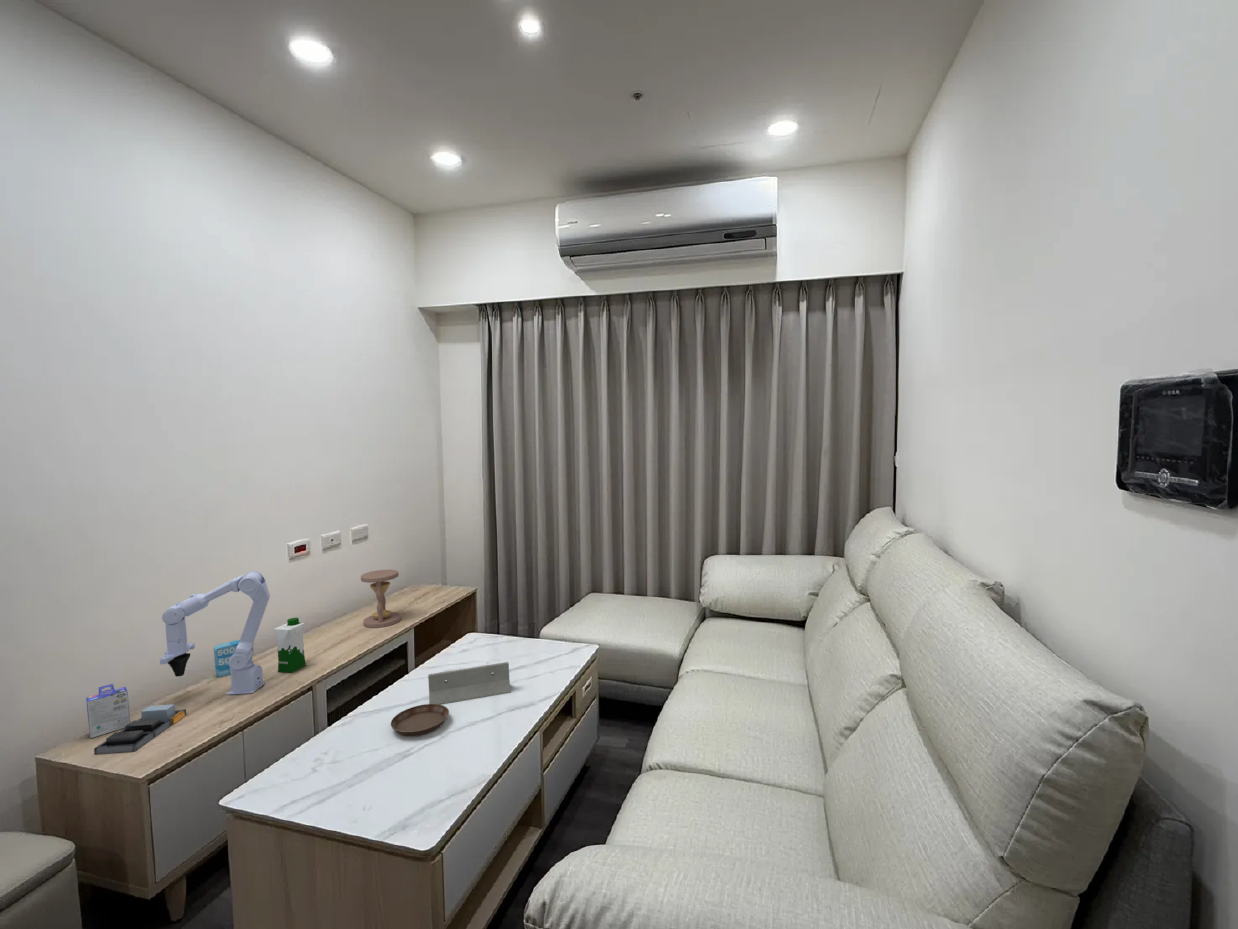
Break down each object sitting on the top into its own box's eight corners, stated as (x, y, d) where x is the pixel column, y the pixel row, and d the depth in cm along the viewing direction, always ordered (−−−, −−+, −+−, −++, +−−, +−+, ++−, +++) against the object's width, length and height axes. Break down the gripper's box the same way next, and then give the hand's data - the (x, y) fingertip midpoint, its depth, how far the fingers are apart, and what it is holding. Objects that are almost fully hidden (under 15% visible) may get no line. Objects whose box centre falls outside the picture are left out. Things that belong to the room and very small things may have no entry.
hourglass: (370, 617, 285) (367, 570, 283) (405, 615, 287) (402, 568, 285) (358, 629, 267) (355, 579, 266) (395, 626, 269) (392, 577, 268)
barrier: (508, 684, 202) (507, 658, 202) (510, 693, 196) (509, 666, 195) (430, 698, 194) (428, 670, 194) (429, 707, 187) (427, 679, 187)
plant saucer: (392, 718, 180) (391, 709, 180) (447, 707, 187) (447, 698, 187) (390, 746, 164) (389, 736, 164) (451, 733, 170) (450, 724, 170)
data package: (216, 678, 216) (214, 648, 216) (215, 674, 220) (213, 645, 219) (252, 668, 224) (250, 640, 223) (251, 665, 227) (249, 637, 227)
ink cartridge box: (129, 720, 184) (125, 679, 184) (131, 726, 181) (127, 683, 180) (88, 733, 177) (84, 689, 176) (90, 739, 173) (86, 695, 173)
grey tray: (187, 714, 187) (187, 704, 187) (136, 751, 166) (135, 740, 165) (150, 716, 186) (149, 707, 186) (94, 754, 165) (93, 743, 164)
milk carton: (309, 665, 226) (306, 617, 225) (291, 674, 217) (288, 625, 216) (292, 663, 228) (288, 616, 227) (273, 672, 219) (270, 624, 218)
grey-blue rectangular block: (175, 718, 185) (174, 704, 185) (167, 724, 181) (166, 709, 181) (150, 720, 184) (149, 706, 184) (142, 726, 181) (141, 711, 181)
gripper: (179, 632, 203) (182, 667, 204) (149, 647, 189) (152, 685, 190) (199, 631, 204) (202, 666, 205) (171, 646, 189) (174, 684, 190)
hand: (179, 675), depth 197 cm, fingers closed
